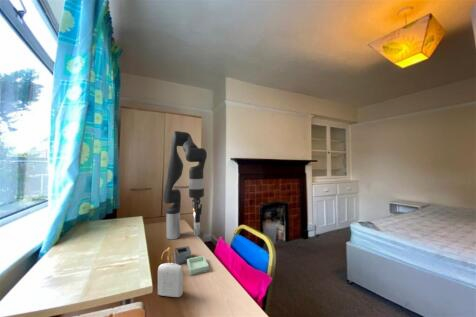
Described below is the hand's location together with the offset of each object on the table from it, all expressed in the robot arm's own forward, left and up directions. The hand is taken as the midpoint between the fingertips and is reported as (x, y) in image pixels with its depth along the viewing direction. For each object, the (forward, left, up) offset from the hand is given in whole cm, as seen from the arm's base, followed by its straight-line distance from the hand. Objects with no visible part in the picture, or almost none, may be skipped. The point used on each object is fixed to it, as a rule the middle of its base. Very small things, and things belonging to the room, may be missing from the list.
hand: (196, 221), depth 100 cm
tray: (0, 0, -23) cm, 23 cm away
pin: (0, 0, -7) cm, 7 cm away
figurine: (-1, -13, -24) cm, 27 cm away
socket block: (-11, -6, -23) cm, 27 cm away
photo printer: (+15, -14, -24) cm, 31 cm away
